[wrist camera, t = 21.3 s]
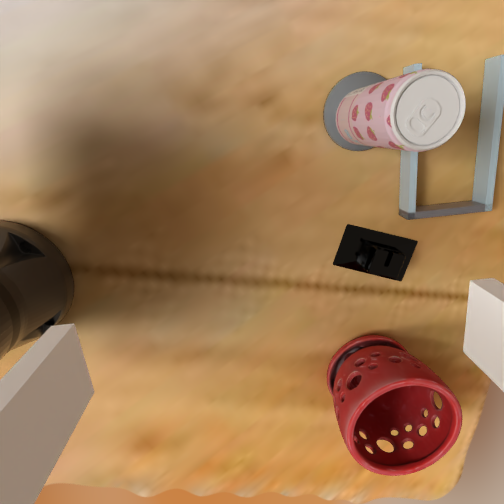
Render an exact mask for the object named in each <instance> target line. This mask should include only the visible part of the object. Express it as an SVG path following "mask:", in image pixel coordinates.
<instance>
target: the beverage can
mask: <svg viewBox="0 0 504 504" xmlns="http://www.w3.org/2000/svg"><path fill="white" fill-rule="evenodd" d="M465 107H466V105H465V95H464V91H463V89H462V86H461V84H460V83H459V82H458V80H457V79H456V78H455V77H454V76H452V75H451V74H450V73H448V72H445V71H443V70H436V69H422V70H418V71H414V72H411V73H408V74H405V75H401V76H398V77H395V78H392V79H388V80H385V81H382V82H379V83H376V84H372V85H369V86H366V87H363V88H359V89H356V90H354V91H352V92H350V93H348V94H347V95H346V96H345V97H344V98H343V99H342V101H341V102H340V104H339V106H338V108H337V112H336V127H337V129H338V132H339V133H340V135H341V136H342V137H343V138H344V139H345V140H346V141H348V142H350V143H352V144H357V145H365V146H373V147H381V148H389V149H397V150H405V151H413V152H421V151H427V150H431V149H434V148H437V147H439V146H441V145H442V144H444V143H446V142H447V141H448V140H449V139H450V138H451V137H452V136H453V135H454V134H455V133H456V131H457V130H458V128H459V126H460V125H461V123H462V120H463V117H464V113H465Z"/></svg>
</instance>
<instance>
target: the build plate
mask: <svg viewBox="0 0 504 504" xmlns="http://www.w3.org/2000/svg"><path fill="white" fill-rule="evenodd" d="M416 245H417V241H415V240H411V239H407V238H403V237H399V236H395V235H391V234H387V233H383V232H378V231H374V230H370V229H366V228H362V227H358V226H354V225H350V224H347V226H346V229H345V231H344V234H343V237H342V240H341V243H340V245H339V248H338V251H337V254H336V256H335V259H334V262H333V265H336V266H340V267H344V268H348V269H352V270H357V271H361V272H365V273H369V274H373V275H377V276H381V277H385V278H389V279H393V280H397V281H402V279H403V277H404V274H405V272H406V269H407V267H408V264H409V262H410V259H411V257H412V255H413V252H414V250H415V247H416Z"/></svg>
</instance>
